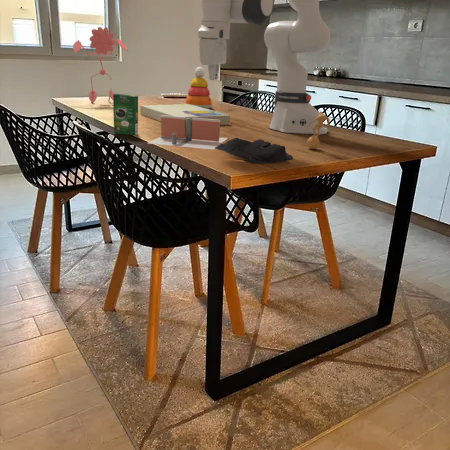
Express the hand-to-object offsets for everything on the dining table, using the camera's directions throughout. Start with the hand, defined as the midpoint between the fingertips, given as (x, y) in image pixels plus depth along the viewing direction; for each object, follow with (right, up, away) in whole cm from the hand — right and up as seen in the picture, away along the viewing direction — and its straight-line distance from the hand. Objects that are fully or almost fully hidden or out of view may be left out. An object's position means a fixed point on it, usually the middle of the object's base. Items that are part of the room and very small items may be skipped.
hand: (213, 79), depth 146 cm
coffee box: (-29, -16, +8) cm, 34 cm away
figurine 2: (+32, -23, 0) cm, 39 cm away
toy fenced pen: (-8, -20, +2) cm, 21 cm away
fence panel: (-3, -19, +1) cm, 19 cm away
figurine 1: (-55, +13, +81) cm, 99 cm away
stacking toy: (-9, +11, +82) cm, 83 cm away
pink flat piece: (-12, -18, +3) cm, 22 cm away
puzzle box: (-14, -3, +46) cm, 48 cm away
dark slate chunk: (+12, -26, -11) cm, 31 cm away
